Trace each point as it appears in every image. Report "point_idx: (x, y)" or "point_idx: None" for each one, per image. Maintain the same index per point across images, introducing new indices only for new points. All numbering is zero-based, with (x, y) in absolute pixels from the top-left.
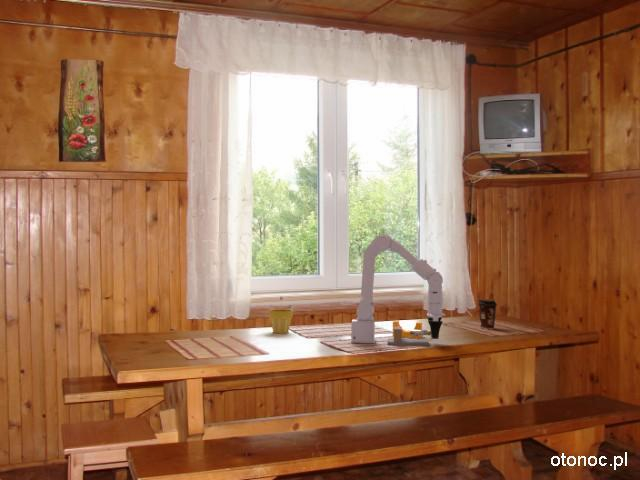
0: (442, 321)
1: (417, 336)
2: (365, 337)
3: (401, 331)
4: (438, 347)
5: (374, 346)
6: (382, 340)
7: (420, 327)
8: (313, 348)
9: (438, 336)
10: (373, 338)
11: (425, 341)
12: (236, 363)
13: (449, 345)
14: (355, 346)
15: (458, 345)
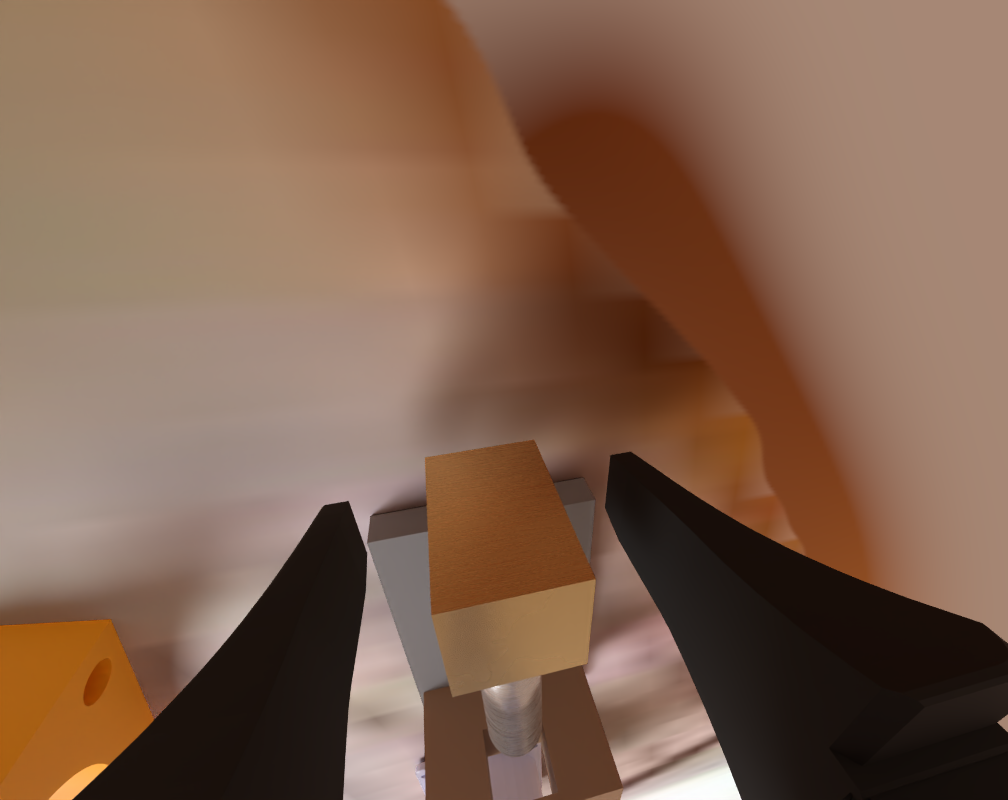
0: (972, 693)
1: (102, 659)
2: (542, 795)
3: (613, 761)
4: (657, 383)
5: (627, 701)
6: (407, 740)
7: (3, 784)
8: (676, 789)
9: (544, 466)
10: (505, 773)
11: None
12: None
13: (509, 264)
14: (630, 742)
15: (479, 106)
